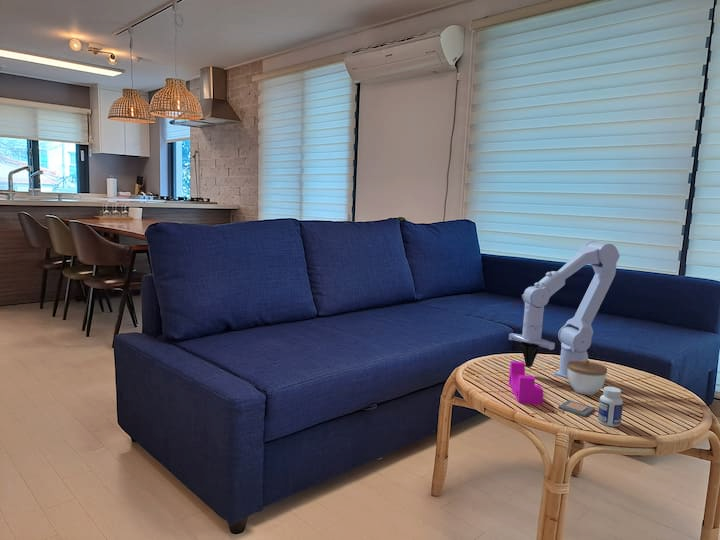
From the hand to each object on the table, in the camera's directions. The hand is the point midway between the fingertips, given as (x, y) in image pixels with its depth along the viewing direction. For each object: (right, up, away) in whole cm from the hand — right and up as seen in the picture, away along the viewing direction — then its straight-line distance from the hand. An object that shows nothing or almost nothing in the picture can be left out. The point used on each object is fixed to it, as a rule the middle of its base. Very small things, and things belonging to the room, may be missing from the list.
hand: (528, 366), depth 163 cm
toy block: (-7, -5, -17) cm, 19 cm away
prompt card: (+4, -7, -26) cm, 27 cm away
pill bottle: (+9, -8, -34) cm, 36 cm away
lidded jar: (+12, -5, -12) cm, 18 cm away
